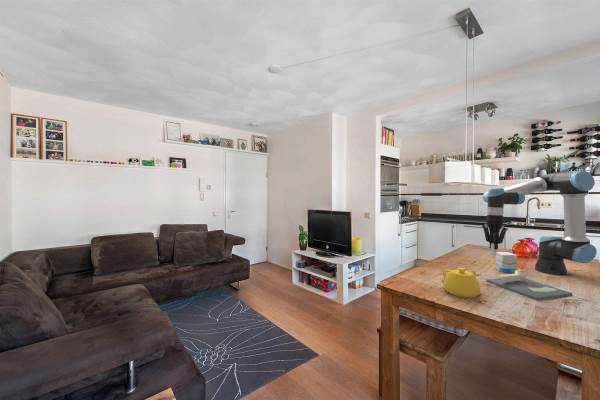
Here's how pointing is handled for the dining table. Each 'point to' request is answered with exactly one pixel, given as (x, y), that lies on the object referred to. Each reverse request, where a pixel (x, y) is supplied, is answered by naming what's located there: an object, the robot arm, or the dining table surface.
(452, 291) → the teapot
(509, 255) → the ink box
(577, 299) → the dining table surface
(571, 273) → the dining table surface
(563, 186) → the robot arm
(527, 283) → the board
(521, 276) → the peg lever
